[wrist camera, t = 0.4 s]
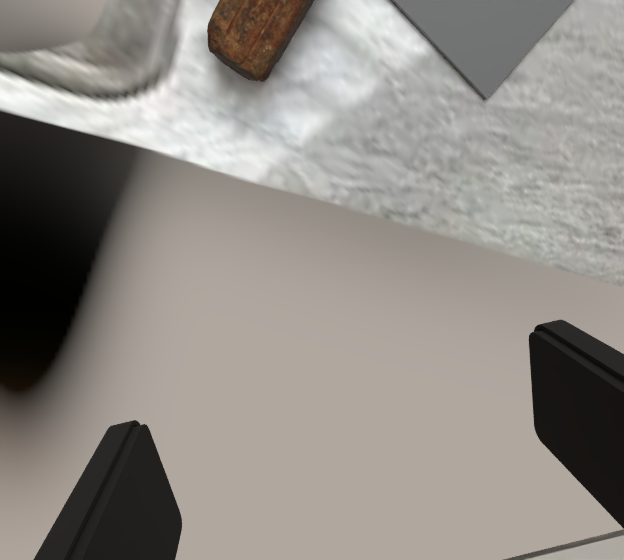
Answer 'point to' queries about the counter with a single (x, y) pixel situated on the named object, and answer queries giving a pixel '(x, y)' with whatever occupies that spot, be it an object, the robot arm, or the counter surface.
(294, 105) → the counter surface
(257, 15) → the brick
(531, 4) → the mat
